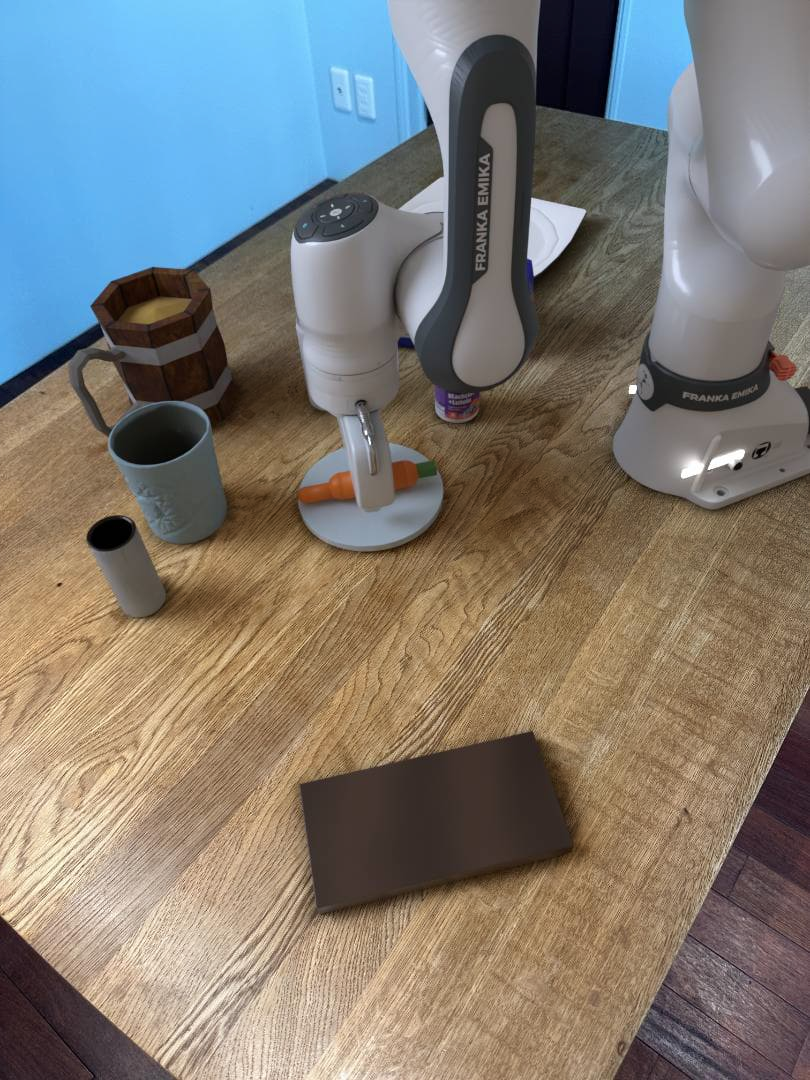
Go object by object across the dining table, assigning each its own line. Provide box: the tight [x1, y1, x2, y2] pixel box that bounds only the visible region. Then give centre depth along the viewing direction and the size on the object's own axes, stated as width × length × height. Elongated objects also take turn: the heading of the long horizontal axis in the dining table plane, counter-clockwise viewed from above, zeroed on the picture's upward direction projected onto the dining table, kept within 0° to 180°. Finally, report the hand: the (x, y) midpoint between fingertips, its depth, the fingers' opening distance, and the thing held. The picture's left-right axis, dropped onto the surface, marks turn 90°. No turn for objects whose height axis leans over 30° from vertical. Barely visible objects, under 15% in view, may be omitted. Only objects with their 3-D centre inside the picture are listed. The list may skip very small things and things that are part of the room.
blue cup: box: [107, 401, 228, 545], centre depth 85 cm, size 10×10×12 cm
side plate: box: [297, 442, 445, 552], centre depth 89 cm, size 16×16×1 cm
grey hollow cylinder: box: [85, 514, 167, 619], centre depth 78 cm, size 4×4×10 cm
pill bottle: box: [434, 385, 481, 424], centre depth 95 cm, size 5×5×10 cm
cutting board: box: [298, 730, 575, 915], centre depth 65 cm, size 20×10×2 cm, turn 102°
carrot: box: [296, 459, 438, 504], centre depth 88 cm, size 15×3×3 cm, turn 102°
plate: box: [398, 176, 587, 279], centre depth 123 cm, size 29×29×3 cm
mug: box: [67, 266, 239, 438], centre depth 96 cm, size 20×14×15 cm
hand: (364, 476), depth 88 cm, fingers open, 8 cm apart
